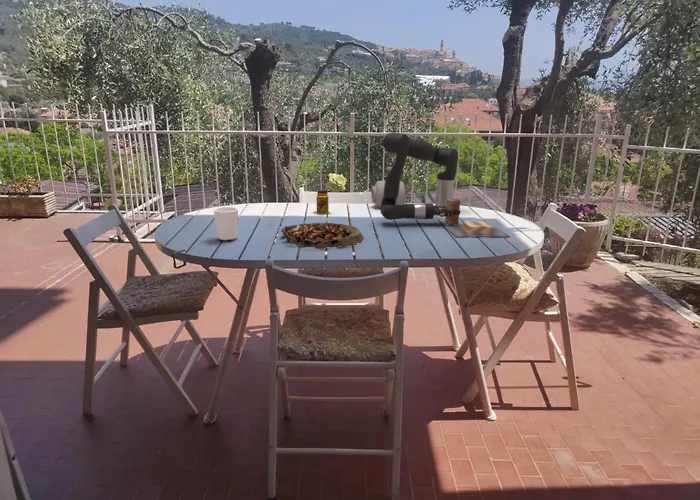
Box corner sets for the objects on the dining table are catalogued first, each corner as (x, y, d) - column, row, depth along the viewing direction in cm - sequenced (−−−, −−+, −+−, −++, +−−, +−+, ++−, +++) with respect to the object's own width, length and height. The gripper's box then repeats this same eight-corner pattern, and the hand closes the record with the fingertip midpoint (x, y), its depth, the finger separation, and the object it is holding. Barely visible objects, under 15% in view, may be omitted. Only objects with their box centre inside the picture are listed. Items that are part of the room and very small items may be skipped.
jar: (405, 204, 255) (358, 196, 256) (401, 220, 268) (356, 212, 268) (409, 176, 265) (363, 168, 266) (404, 193, 278) (361, 186, 278)
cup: (227, 244, 197) (225, 213, 193) (210, 240, 202) (208, 210, 198) (244, 238, 205) (243, 208, 201) (227, 235, 210) (226, 205, 206)
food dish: (266, 246, 199) (265, 228, 197) (303, 229, 229) (303, 213, 226) (346, 254, 186) (346, 234, 184) (374, 235, 216) (374, 218, 214)
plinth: (455, 237, 212) (456, 228, 211) (445, 228, 227) (446, 219, 226) (509, 237, 214) (510, 228, 212) (496, 228, 229) (497, 219, 228)
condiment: (318, 215, 249) (318, 191, 246) (312, 211, 257) (312, 188, 253) (331, 214, 252) (331, 190, 248) (326, 210, 259) (326, 188, 256)
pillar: (447, 225, 232) (449, 200, 228) (445, 223, 237) (447, 198, 233) (458, 225, 232) (460, 200, 229) (455, 223, 237) (457, 198, 234)
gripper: (426, 206, 224) (463, 206, 225) (420, 200, 237) (454, 200, 239) (425, 222, 226) (462, 222, 227) (419, 215, 239) (453, 215, 241)
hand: (458, 211), depth 233 cm, fingers closed on pillar, 5 cm apart
